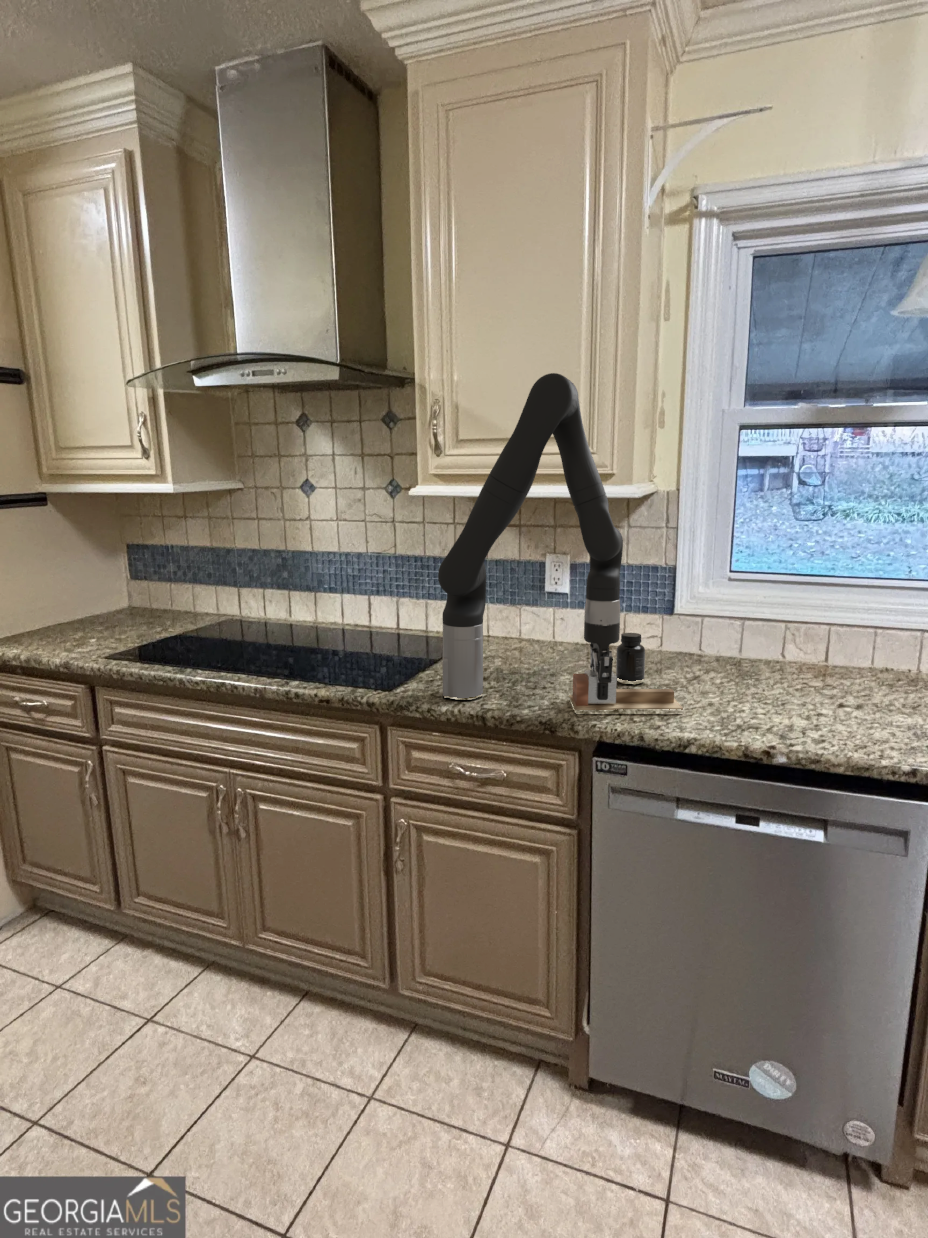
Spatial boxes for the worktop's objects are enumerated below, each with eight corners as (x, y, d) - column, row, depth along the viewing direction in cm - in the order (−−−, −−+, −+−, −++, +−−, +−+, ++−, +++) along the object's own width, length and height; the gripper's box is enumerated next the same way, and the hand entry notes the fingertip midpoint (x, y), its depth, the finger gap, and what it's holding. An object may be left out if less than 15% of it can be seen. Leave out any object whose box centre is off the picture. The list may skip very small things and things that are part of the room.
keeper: (587, 703, 156) (588, 676, 155) (583, 695, 162) (584, 669, 161) (615, 703, 156) (616, 676, 155) (610, 695, 162) (611, 669, 161)
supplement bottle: (639, 677, 183) (641, 631, 180) (647, 685, 176) (649, 637, 173) (612, 678, 182) (614, 631, 180) (619, 686, 176) (621, 637, 173)
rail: (574, 714, 155) (575, 683, 154) (569, 701, 164) (569, 671, 163) (682, 714, 155) (684, 683, 154) (671, 701, 164) (672, 671, 162)
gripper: (579, 613, 163) (577, 685, 166) (590, 626, 149) (587, 705, 152) (613, 612, 163) (610, 685, 166) (626, 626, 149) (623, 705, 152)
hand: (599, 694), depth 159 cm, fingers closed on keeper, 5 cm apart
